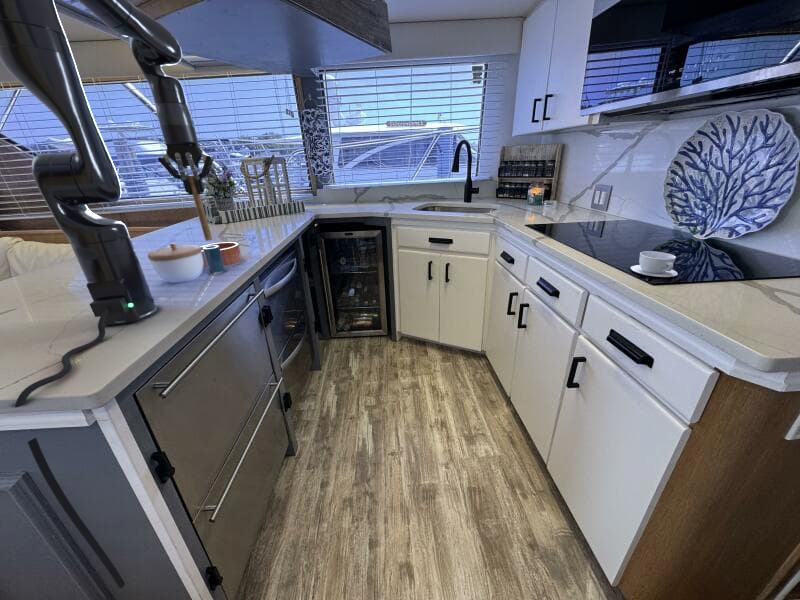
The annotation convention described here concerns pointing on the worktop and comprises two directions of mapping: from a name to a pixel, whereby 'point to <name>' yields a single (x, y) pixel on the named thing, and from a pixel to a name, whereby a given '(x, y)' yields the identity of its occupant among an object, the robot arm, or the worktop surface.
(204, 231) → the stirring stick
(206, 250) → the utensil pot
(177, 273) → the lidded bowl
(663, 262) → the teacup
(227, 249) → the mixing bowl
